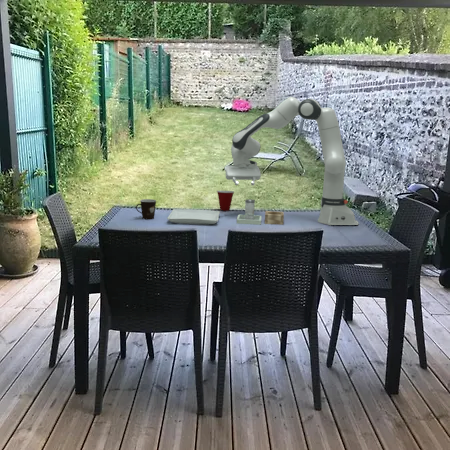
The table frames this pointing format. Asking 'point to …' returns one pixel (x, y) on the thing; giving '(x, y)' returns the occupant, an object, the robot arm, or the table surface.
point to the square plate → (193, 216)
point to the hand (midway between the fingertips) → (245, 184)
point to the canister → (249, 209)
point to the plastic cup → (225, 199)
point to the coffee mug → (147, 208)
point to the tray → (242, 220)
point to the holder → (274, 217)
